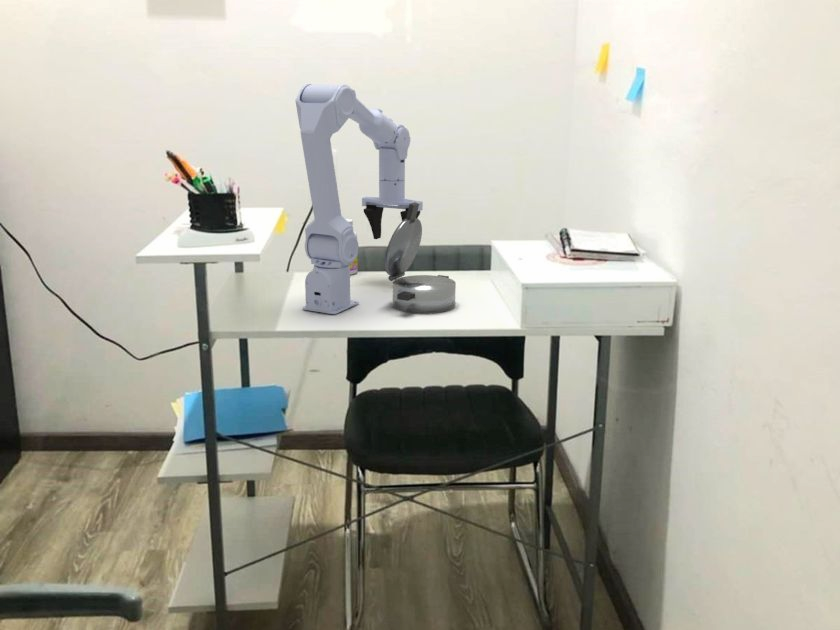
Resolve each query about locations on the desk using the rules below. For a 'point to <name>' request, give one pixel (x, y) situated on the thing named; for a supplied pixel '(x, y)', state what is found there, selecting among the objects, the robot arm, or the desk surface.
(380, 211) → the robot arm
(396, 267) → the lid
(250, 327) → the desk surface
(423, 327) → the desk surface
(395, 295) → the pot
